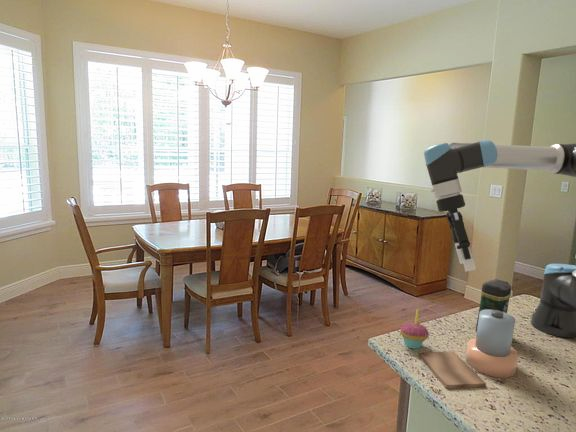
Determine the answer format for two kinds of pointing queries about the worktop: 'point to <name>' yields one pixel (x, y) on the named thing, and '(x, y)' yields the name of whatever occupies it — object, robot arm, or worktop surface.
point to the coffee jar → (494, 296)
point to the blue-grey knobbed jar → (495, 333)
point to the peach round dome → (491, 362)
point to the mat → (451, 370)
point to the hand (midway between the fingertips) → (467, 266)
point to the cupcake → (414, 333)
